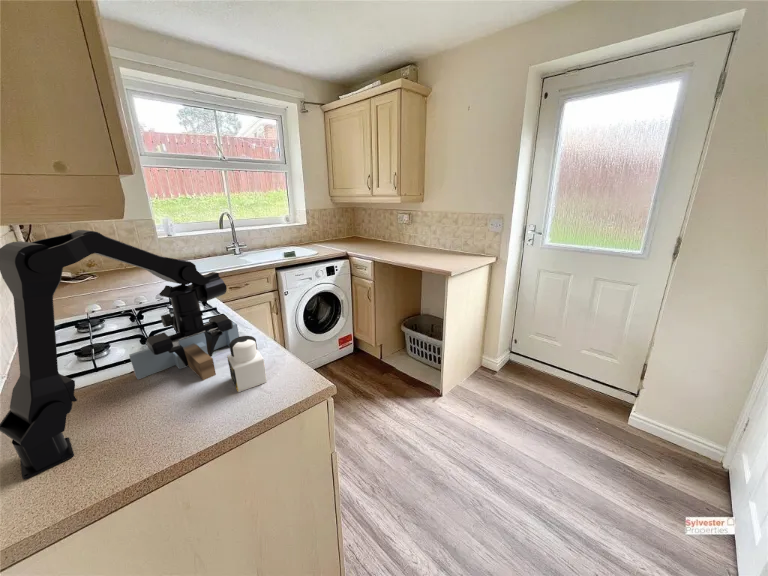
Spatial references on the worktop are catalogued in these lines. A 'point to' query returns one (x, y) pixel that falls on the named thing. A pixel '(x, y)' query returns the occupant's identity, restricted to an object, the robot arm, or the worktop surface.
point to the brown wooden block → (199, 361)
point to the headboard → (151, 363)
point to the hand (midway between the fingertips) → (198, 360)
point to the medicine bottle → (246, 363)
